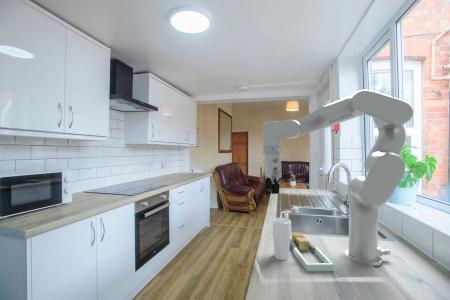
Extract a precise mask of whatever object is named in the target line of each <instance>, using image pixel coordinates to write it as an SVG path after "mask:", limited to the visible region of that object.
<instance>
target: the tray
mask: <svg viewBox="0 0 450 300" xmlns="http://www.w3.org/2000/svg"><path fill="white" fill-rule="evenodd" d="M293 254H294V256H295V257H296V259H297V260H298V261H299V263H300V265H301V266H302V267H303V269H305V271H306V272H334V271H335V264H334V262H332V261H331V259H330V258H328V257H327V256H326V255H325V253H323V252H322V250H321V249H319V247H316V246H315V253H314V254H315V255H316V256H317V257H318V259H319V260H321V262H309V261H307V259H306V258H305V256H303V253H300V252H299V250H298V249H297V248H294V251H293Z"/></svg>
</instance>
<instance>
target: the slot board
mask: <svg viewBox="0 0 450 300" xmlns="http://www.w3.org/2000/svg"><path fill="white" fill-rule="evenodd" d="M303 236H304V237H305V238H306V239H307V240H308V241H309V251H299V252H300V253H301V254H315V247H316V246H315V245H314V244H313V243H312V242H311V241H310V240H309V239H308V238H307V237H306V236H305V235H303ZM289 248H290V249H291V250H292V251H293V252H294V248H297V249H298V247H297V246H296V245H295V244H294V242H293V241H292V238H290V247H289Z"/></svg>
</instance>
